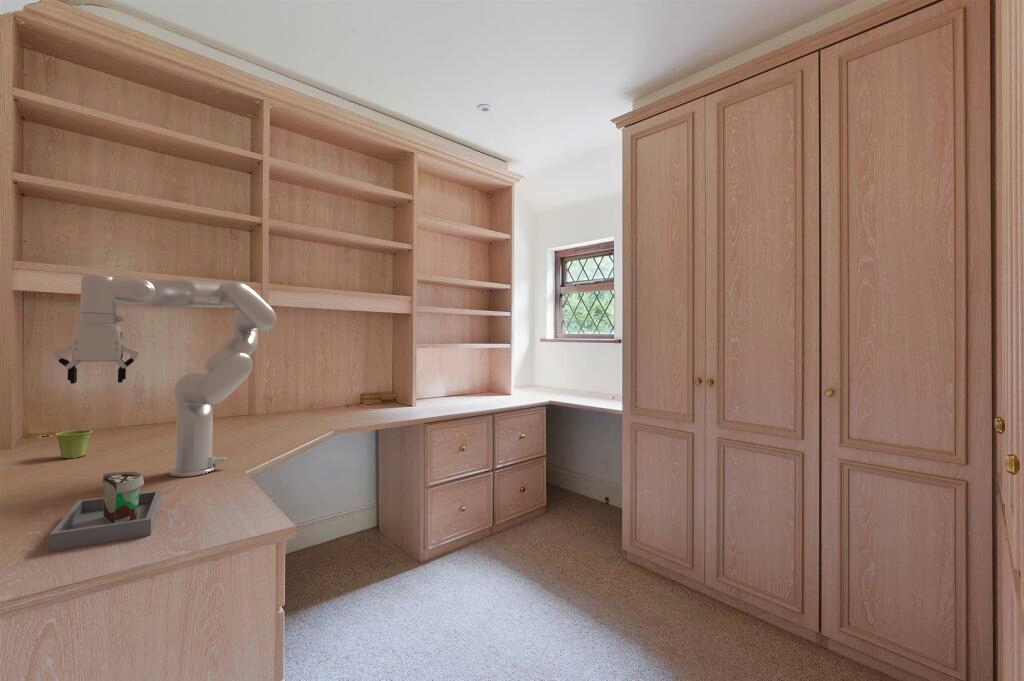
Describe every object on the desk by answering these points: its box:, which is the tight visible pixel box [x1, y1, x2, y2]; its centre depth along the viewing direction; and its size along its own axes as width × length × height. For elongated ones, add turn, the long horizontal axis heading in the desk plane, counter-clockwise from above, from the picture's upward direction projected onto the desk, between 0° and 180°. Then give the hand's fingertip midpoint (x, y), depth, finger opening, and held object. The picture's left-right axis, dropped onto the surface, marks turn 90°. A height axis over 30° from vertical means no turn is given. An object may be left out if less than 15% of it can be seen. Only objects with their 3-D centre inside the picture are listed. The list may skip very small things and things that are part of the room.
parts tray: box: [49, 489, 162, 552], centre depth 105 cm, size 16×22×4 cm
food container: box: [102, 471, 145, 524], centre depth 107 cm, size 12×6×10 cm, turn 53°
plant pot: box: [55, 429, 93, 459], centre depth 161 cm, size 9×9×9 cm
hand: (97, 382), depth 125 cm, fingers open, 9 cm apart
